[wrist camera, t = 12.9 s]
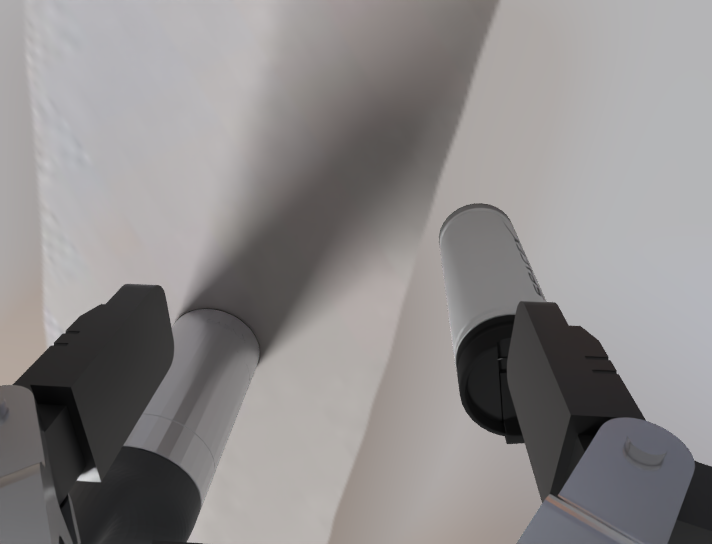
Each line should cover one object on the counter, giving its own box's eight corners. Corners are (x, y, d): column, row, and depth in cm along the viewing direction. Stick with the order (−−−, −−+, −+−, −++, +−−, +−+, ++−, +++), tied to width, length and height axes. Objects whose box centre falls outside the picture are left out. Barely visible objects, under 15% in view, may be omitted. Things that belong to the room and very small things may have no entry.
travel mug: (442, 276, 47) (465, 450, 29) (435, 207, 44) (454, 356, 26) (514, 267, 46) (582, 442, 28) (511, 197, 43) (585, 344, 25)
